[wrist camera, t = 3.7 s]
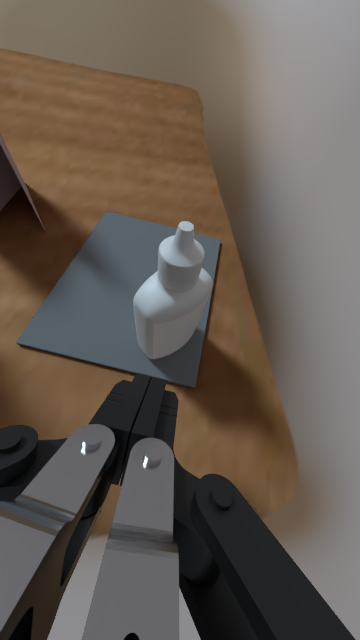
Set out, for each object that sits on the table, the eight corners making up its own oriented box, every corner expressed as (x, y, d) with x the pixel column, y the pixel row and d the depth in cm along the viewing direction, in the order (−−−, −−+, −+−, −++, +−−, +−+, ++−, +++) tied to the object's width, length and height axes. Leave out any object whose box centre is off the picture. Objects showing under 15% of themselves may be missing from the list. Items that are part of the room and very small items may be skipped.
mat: (18, 344, 18) (15, 342, 18) (107, 213, 28) (106, 211, 28) (194, 388, 18) (195, 387, 18) (219, 242, 28) (220, 239, 28)
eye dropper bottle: (200, 354, 19) (259, 259, 9) (139, 362, 18) (124, 263, 8) (191, 315, 21) (230, 199, 11) (136, 319, 20) (120, 196, 10)
